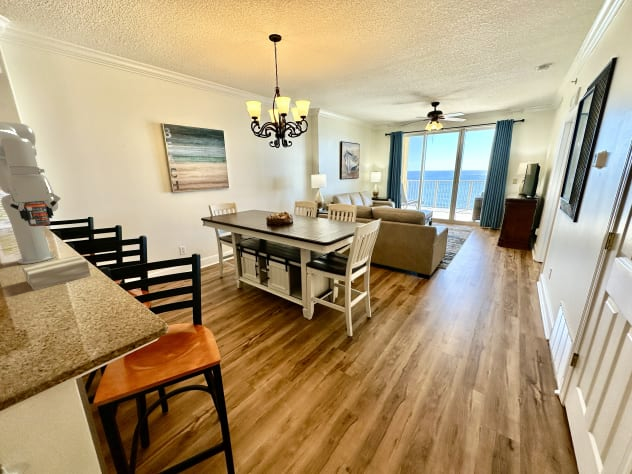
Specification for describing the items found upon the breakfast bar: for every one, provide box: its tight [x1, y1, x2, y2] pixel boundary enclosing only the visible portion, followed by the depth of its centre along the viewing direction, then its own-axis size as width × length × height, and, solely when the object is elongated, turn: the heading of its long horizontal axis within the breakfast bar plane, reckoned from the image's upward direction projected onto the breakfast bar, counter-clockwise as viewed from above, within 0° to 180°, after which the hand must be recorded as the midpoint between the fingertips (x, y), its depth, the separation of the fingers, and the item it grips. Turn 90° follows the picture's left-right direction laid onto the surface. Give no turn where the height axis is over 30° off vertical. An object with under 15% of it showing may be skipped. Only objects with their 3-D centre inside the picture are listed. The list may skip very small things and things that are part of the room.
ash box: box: [21, 255, 92, 291], centre depth 101 cm, size 14×16×6 cm
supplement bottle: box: [24, 201, 51, 227], centre depth 100 cm, size 6×6×11 cm
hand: (38, 218), depth 101 cm, fingers closed on supplement bottle, 6 cm apart
